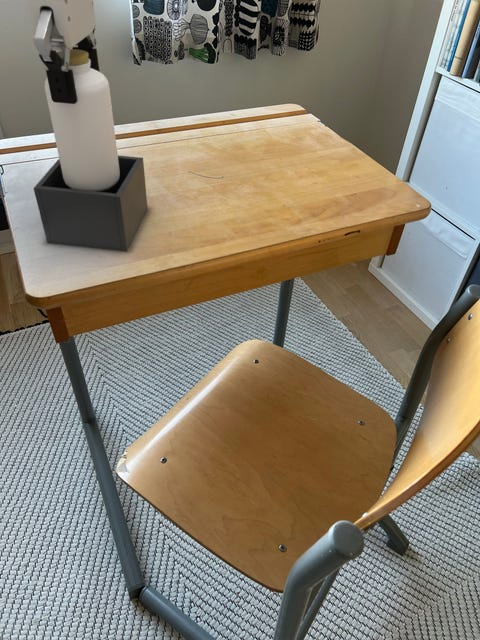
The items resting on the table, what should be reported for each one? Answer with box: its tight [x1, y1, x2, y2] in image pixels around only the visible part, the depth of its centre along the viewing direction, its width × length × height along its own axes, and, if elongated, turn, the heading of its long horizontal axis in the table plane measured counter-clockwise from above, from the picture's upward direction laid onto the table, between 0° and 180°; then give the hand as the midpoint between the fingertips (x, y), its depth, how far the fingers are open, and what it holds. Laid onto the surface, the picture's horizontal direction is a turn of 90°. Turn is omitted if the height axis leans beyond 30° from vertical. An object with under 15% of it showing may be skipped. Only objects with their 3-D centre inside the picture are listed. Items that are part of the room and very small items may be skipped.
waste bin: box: [33, 155, 149, 253], centre depth 80 cm, size 13×13×10 cm
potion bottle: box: [44, 48, 120, 192], centre depth 72 cm, size 8×8×18 cm
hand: (77, 89), depth 69 cm, fingers closed on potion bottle, 8 cm apart
